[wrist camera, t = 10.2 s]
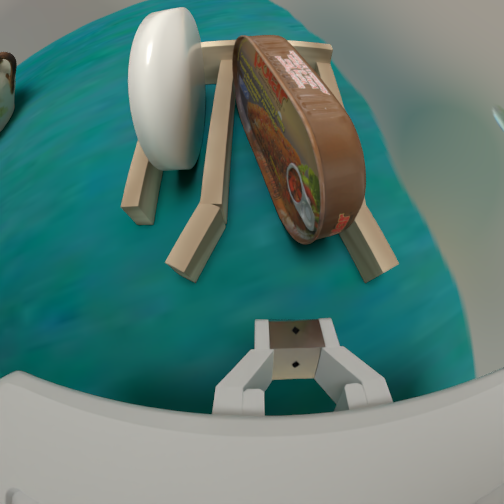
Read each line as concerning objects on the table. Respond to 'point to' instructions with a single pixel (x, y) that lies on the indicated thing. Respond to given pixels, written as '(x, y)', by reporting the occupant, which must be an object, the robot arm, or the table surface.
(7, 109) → the sugar bowl
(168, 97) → the racked plate
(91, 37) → the table surface
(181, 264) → the rack
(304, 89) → the tin
